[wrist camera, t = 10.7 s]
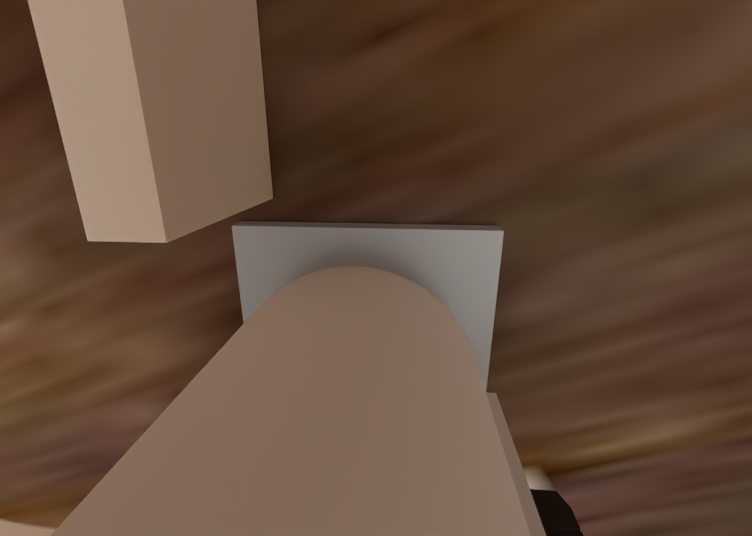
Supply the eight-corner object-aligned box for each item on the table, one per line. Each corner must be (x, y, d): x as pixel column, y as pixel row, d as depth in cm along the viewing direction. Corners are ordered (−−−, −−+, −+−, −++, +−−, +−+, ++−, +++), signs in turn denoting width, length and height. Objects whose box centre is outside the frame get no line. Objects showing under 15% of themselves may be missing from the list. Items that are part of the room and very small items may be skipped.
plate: (241, 220, 16) (231, 225, 16) (498, 225, 16) (503, 230, 15) (268, 455, 21) (261, 470, 20) (472, 469, 20) (475, 485, 19)
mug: (256, 501, 17) (39, 1014, 7) (244, 248, 13) (-266, 577, 3) (445, 524, 17) (504, 1110, 7) (489, 269, 13) (786, 731, 3)
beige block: (103, -126, 13) (-265, -451, 6) (245, -134, 13) (34, -491, 5) (161, 196, 16) (-26, 238, 9) (273, 198, 16) (166, 242, 9)
